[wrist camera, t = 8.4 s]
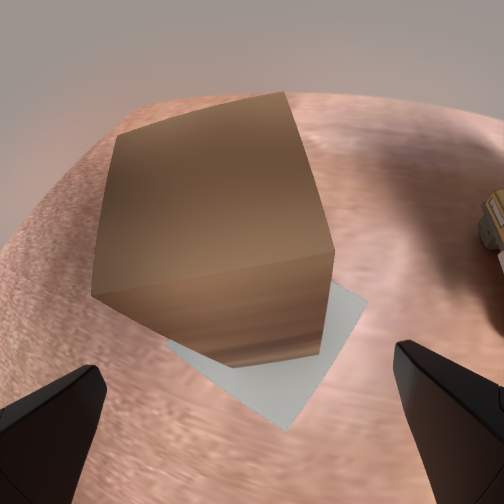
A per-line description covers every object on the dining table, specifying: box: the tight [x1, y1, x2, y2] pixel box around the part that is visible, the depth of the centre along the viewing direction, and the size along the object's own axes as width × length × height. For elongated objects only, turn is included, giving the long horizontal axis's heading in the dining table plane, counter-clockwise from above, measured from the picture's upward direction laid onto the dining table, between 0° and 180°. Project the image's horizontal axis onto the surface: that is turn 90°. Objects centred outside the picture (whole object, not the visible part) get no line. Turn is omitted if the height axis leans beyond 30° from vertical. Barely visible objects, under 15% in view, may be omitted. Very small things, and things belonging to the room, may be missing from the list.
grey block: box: [165, 281, 369, 431], centre depth 20 cm, size 9×9×3 cm
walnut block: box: [91, 92, 335, 368], centre depth 13 cm, size 5×5×13 cm
